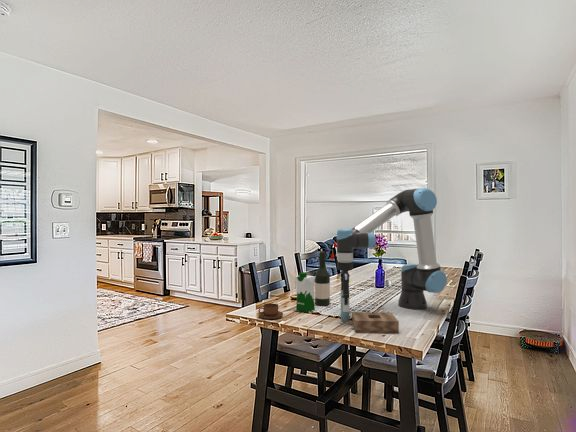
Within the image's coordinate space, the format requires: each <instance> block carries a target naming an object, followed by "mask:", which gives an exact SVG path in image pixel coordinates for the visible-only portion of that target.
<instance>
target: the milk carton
mask: <svg viewBox="0 0 576 432" xmlns="http://www.w3.org/2000/svg"><path fill="white" fill-rule="evenodd" d="M315 277H316V276H315V275H314V276H313V275H308V273H307V272H303V271H302V272H299V273H298V275H296V276H295V277H294V278H295V283H296V307H295V310H296V311H298V312H302V313H306V314H307V313H310V312H313V311H312V310H314V311H315V309H316V307H315V306H316V305H315ZM309 311H310V312H309Z"/></svg>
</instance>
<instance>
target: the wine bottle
mask: <svg viewBox="0 0 576 432" xmlns="http://www.w3.org/2000/svg"><path fill="white" fill-rule="evenodd" d="M314 276H316V277H315V282H314V306H316V305H317V307H328V305H329V306H330V305H331V301H330V300H331V295H330V294H331V293H330V291H331V289H330V288H331V286H330V285H331V284H330V283H331V281H330V280H331V277H330V276H331V274H330V273H329V271H328V270H327V268H326V252H325V251H323V250H321V251H319V253H318V269H317V271H316V272H315V274H314Z"/></svg>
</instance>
